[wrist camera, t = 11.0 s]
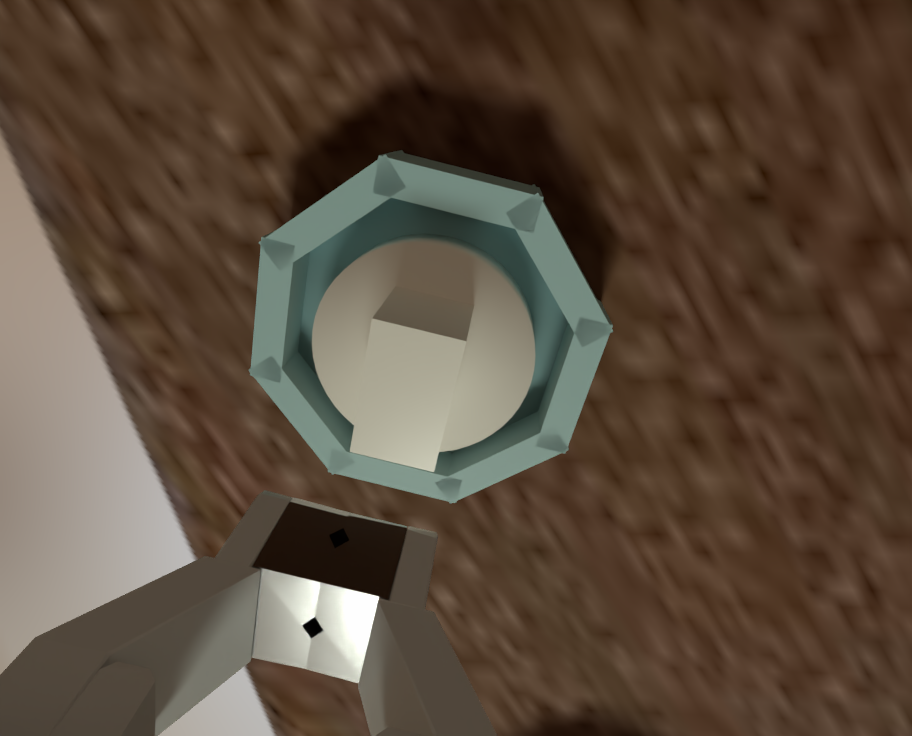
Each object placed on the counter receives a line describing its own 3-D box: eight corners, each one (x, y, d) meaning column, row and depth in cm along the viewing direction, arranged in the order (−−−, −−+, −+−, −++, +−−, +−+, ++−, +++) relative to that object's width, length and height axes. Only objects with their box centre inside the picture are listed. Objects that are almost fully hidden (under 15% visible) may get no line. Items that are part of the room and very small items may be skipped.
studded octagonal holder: (635, 209, 17) (654, 222, 15) (537, 483, 22) (540, 525, 19) (300, 124, 17) (267, 124, 15) (270, 417, 22) (241, 452, 19)
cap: (560, 263, 17) (575, 306, 13) (503, 449, 20) (501, 533, 16) (341, 210, 17) (286, 236, 13) (315, 404, 20) (264, 476, 16)
